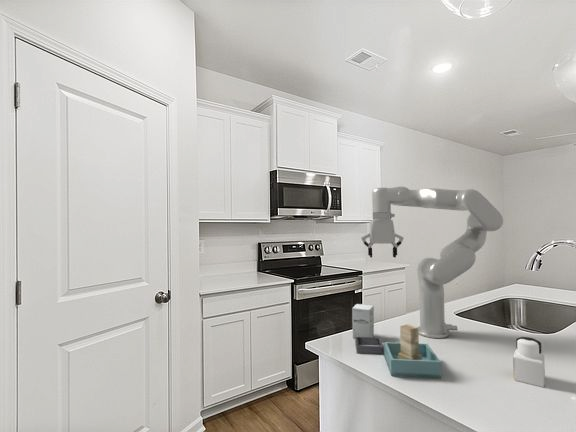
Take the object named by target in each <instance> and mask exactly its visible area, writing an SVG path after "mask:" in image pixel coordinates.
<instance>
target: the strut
mask: <svg viewBox="0 0 576 432" xmlns="http://www.w3.org/2000/svg"><path fill="white" fill-rule="evenodd" d="M418 327H419V326H416V325H412V324H409V323H408V324H403V325H400V327H399V329H400V343H401V352H400V353H398V359H408V360H422V355H420V354H419V342H420V341H419V340H420V338H419V335H420V334H419V332H418Z"/></svg>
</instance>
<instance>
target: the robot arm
mask: <svg viewBox="0 0 576 432" xmlns="http://www.w3.org/2000/svg"><path fill="white" fill-rule="evenodd" d="M371 192H372V193H371V196H372V198H371V199H372V200H371V201H372V202H371V203H372V204H371V205H372V220H371V219H370V223H369V224H370V225H369V233H367V234H366V235H364V236H362V237H361V238H360V239H361V241H362V242H363V244H364V245H365V246H366V247H367V255H368V256H369V258H370V259H372V258H373V248H372V247H373V245H374V244H380V245H381V244H383V245H384V244H385V245H386V244H391V245H392V246H393V247H392V257H393V258H397V256H398V248H399V247H400V246H401V244H402V243H403V241H404V237H403V236H402V235H399V234H397V233H396V232H395V226H394V221H393V219H392V218H395V213H392V206H398V207H410V208H411V207H412V208H414V207H415V208H422V209H434V210H435V209H436V210H448V211H459V212H460V211H461V212H462V211H463V212H464V211H468V212H469V213H470V214H469V215H468V217H467V219H466V224H467V225H466V230H465V232H464V233H463V234H462V235H461V236H459V237H458V238H456V239H454V240H453V241H452V242H450V243H449V244H447V245H446V246H444V247H443V248H442V249H441V251H440V253H439V257H440V258H439V259H438V258H434V257H426V258H423V259H421V260H420V261H419V263H418V264H417V269H416V271H417V279H418V286H419V287H418V288H419V326H417V327H418V332H419V335H420V336H423V337H426V338H432V339H444V338H447V337H449V336H450V332H449V331H458V326H457V325H453V324H450V323H446V321H445V319H446V318H445V317H446V316H445V288H444V287H445V286H444V285H447V284H448V283H451V282H452V281H453V280H455V279H457V278H458V277H460V276H461V275H463V274H464V273H466V272H467V271H469V270H470V269H471V268H472V267H473V266H474V264H475V262H476V259H477V256H476V253H477V252H478V251H479V250H480V249H482V248H483V246H484V245H485V243H486V240H487V232H495V231H498V230H500V228H502V226H503V224H504V218H503V215H502V214H501V212H500V211H499V210H498V209H497V208H496V207H495V206H494V205H493V204H492V203H491V202H490V201H489V200H488V199H487V198H486V197H485V196H484V195H483V194H482V193H480V192H479V191H478V190H476V189H474V188H472V189H471V188H470V189H469V188H468V189H464V190H459V189H448V188H447V189H446V188H426V189H423V188H422V189H409V188H408V187H405V186H402V185H400V186H396V187H395V186H394V187H376V188H373V189H372V191H371ZM391 205H392V206H391ZM368 238H369V243H368V242H367V241H366V240H367V239H368ZM396 238H398V240H397V242H396Z"/></svg>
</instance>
